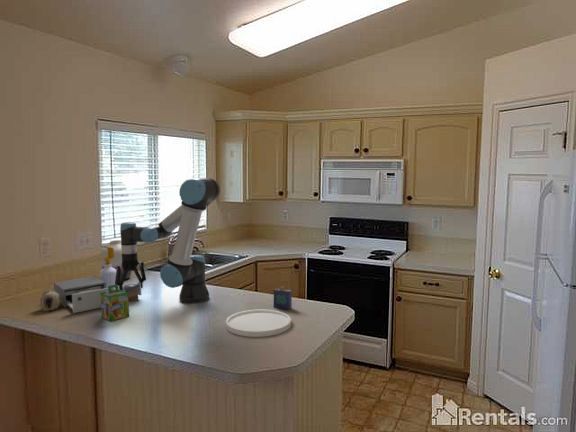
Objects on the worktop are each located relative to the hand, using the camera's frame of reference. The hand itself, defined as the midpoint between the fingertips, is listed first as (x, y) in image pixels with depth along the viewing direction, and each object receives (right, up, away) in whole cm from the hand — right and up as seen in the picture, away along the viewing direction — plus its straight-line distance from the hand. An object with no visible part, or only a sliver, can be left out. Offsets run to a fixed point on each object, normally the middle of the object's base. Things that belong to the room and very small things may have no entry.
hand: (131, 296), depth 226 cm
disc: (0, +4, 0) cm, 4 cm away
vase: (-25, +2, +45) cm, 51 cm away
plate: (+68, -6, -36) cm, 77 cm away
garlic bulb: (-34, -4, -13) cm, 37 cm away
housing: (-27, -2, +3) cm, 28 cm away
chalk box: (+2, -5, -25) cm, 26 cm away
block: (0, -2, 0) cm, 2 cm away
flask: (+78, -3, -14) cm, 79 cm away
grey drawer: (-19, -3, -7) cm, 20 cm away
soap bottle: (-20, 0, +22) cm, 30 cm away
